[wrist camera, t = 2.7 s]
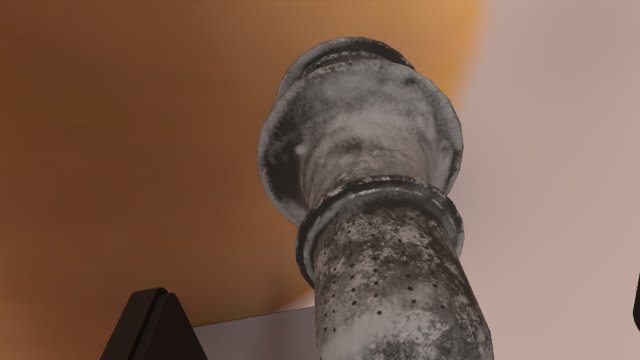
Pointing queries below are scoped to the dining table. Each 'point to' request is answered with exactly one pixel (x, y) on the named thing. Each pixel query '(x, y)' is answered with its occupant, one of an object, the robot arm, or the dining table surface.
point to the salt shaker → (373, 204)
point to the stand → (262, 337)
